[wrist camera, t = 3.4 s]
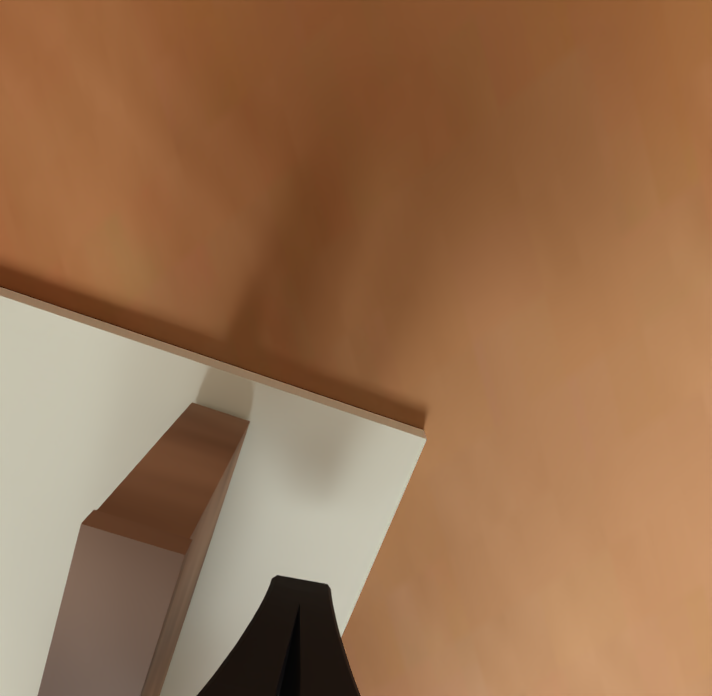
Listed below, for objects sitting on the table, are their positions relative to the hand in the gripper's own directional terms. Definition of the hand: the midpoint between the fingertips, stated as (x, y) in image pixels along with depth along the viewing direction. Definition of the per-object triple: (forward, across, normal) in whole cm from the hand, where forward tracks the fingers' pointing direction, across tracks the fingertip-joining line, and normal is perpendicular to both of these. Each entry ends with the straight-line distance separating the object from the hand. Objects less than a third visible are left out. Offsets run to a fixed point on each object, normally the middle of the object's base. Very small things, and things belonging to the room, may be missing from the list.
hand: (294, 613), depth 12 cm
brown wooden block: (+3, +4, +1) cm, 5 cm away
